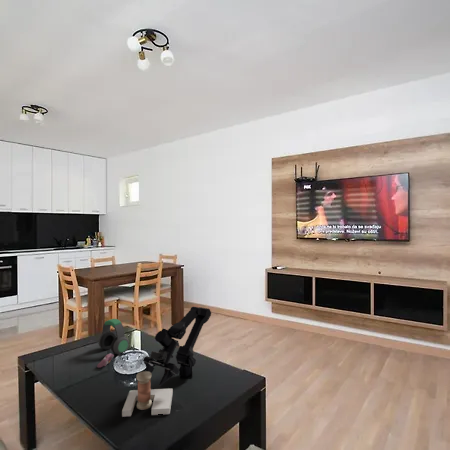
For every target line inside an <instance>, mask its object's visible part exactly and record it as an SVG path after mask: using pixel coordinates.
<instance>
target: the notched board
mask: <svg viewBox="0 0 450 450" xmlns="http://www.w3.org/2000/svg"><path fill="white" fill-rule="evenodd" d="M173 391H174V390H173V388H154V389H153V388H151V399H150V400H151V401H153V402H152V406H151V409H150V410H151V416H159V415H158V414H163V415H170V414H171V406H172V402H173V401H172V400H173V393H174V392H173ZM137 402H138V389H133V390H131V389H130V390H129V392H128V394H127V397H126V400H125V402H124V405H123V408H122V410H121V417H122V418H123V417H124V418H125V417H132V414H133V411H134V408H135V406H136V404H137Z"/></svg>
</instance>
